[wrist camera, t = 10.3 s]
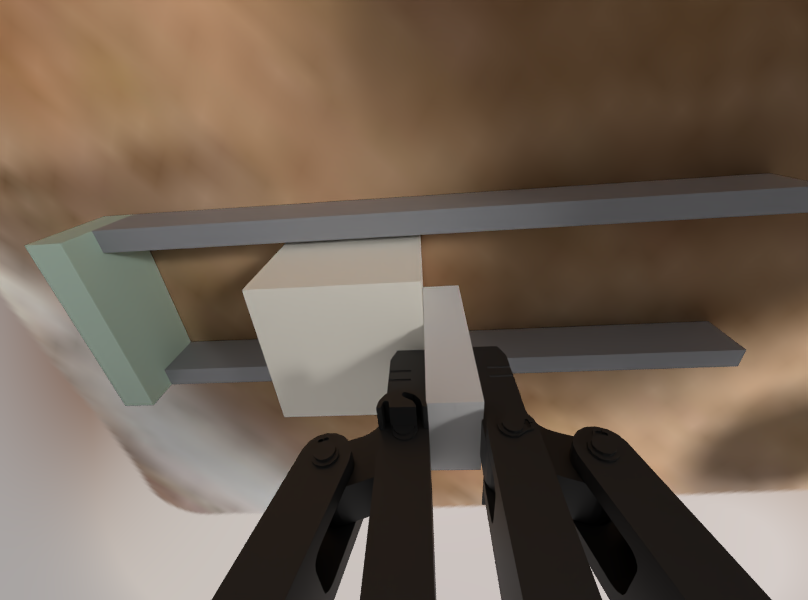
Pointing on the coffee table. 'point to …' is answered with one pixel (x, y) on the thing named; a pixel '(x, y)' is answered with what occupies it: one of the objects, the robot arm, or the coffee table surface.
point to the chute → (401, 216)
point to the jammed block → (337, 320)
